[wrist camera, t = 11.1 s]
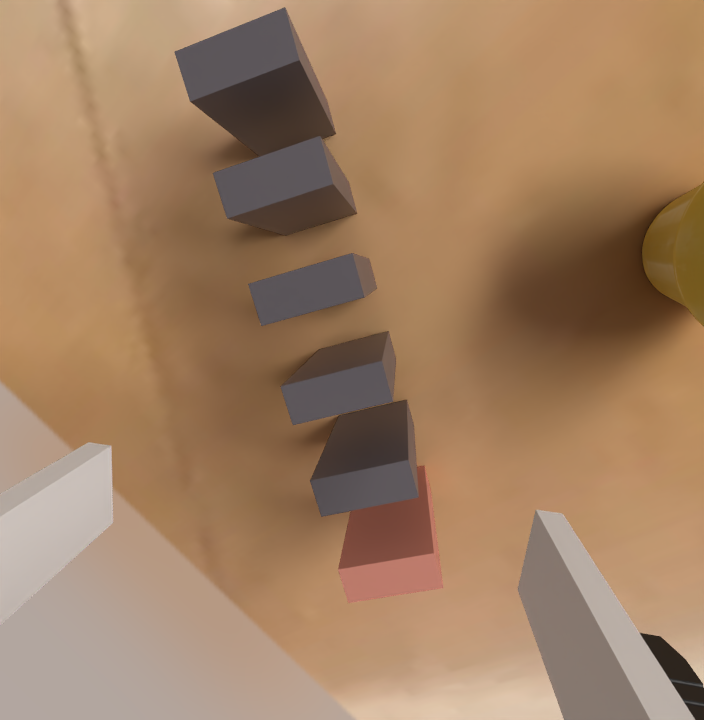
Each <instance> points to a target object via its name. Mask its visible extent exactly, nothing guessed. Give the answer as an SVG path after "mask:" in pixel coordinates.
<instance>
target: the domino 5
mask: <svg viewBox="0 0 704 720" xmlns="http://www.w3.org/2000/svg"><path fill="white" fill-rule="evenodd" d="M310 482H311V485H312V488H313V492H314V495H315V498H316V501H317V504H318V507H319V511H320V514H321V517H322V516H327V515H332V514H338V513H343V512H348V511H353V510H358V509H363V508H368V507H373V506H378V505H383V504H388V503H393V502H399V501H404V500H409V499H414V498H419V493H418V478H417V463H416V449H415V434H414V424H413V421H412V417H411V413H410V409H409V406H408V402H407V400H403V401H399V402H395V403H391V404H386V405H382V406H378V407H374V408H369V409H365V410H361V411H357V412H352V413H348V414H344V415H340V416H339V417H338V419H337V421H336V423H335V426H334V428H333V430H332V432H331V435H330V437H329V439H328V441H327V444H326V446H325V448H324V451H323V453H322V455H321V457H320V460H319V462H318V464H317V466H316V469H315V471H314V473H313V475H312V478H311V480H310Z"/></svg>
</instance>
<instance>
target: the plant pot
mask: <svg viewBox="0 0 704 720" xmlns="http://www.w3.org/2000/svg"><path fill="white" fill-rule="evenodd" d="M642 260H643V267H644V270H645V273H646V275H647V277H648V279H649V280H650V282H651V283H652V285H653V286H654V287H655V288H656V289H657V290H658V291H659V292H661V293H662V294H664V295H665V296H667V297H669V298H671V299H673V300H675V301H677V302H678V303H680V304H682V305H684V306H686V307H687V308H688V310H689V311H690V313H691V314H692V315H693V316H694V317H695V319H696V320H697V321H698V322H699V323H700V324H702V325H703V326H704V182H703V183H702V184H701V185H699V186H698V187H696V188H694V189H693V190H691V191H689V192H687V193H686V194H684V195H682V196H680V197H679V198H677V199H675V200H674V201H672V202H671V203H670V204H668V205H667V206H666V207H665V208H664V209H663V210H662V211H661V212H660V213H659V214H658V215H657V216H656V218H655V219H654V220H653V222H652V224H651V225H650V227H649V229H648V230H647V232H646V235H645V238H644V242H643V247H642Z"/></svg>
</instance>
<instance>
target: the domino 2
mask: <svg viewBox="0 0 704 720" xmlns="http://www.w3.org/2000/svg"><path fill="white" fill-rule="evenodd" d="M213 175H214V178H215V182H216V185H217V188H218V191H219V194H220V197H221V200H222V204H223V207H224V210H225V213H226V216H227V219H231V220H234V221H237V222H241V223H244V224H248V225H251V226H255V227H258V228H261V229H265V230H268V231H272V232H275V233H279V234H282V235H289V234H292V233H295V232H299V231H302V230H305V229H308V228H311V227H315V226H318V225H321V224H324V223H327V222H331V221H334V220H337V219H340V218H344V217H347V216H350V215H353V214H356V213H357V211H356V207H355V203H354V200H353V196H352V192H351V188H350V185H349V182H348V180H347V178H346V177H345V175H344V173H343V172H342V170H341V169H340V167H339V165H338V164H337V162H336V161H335V159H334V157H333V156H332V154H331V152H330V151H329V149H328V148H327V146H326V144H325V143H324V141H323V140H322V138H321V136H318V137H315V138H312V139H309V140H307V141H304V142H301V143H298V144H295V145H292V146H289V147H286V148H283V149H281V150H278V151H275V152H272V153H269V154H266V155H263V156H260V157H257V158H255V159H252V160H249V161H246V162H243V163H240V164H237V165H234V166H231V167H229V168H226V169H223V170H220V171H217V172H214V173H213Z"/></svg>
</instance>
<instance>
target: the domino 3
mask: <svg viewBox="0 0 704 720" xmlns="http://www.w3.org/2000/svg"><path fill="white" fill-rule="evenodd" d="M248 285H249V288H250V291H251V295H252V298H253V301H254V304H255V307H256V310H257V314H258V317H259V320H260V323H261V326H263V325H267V324H270V323H274V322H277V321H281V320H285V319H288V318H292V317H295V316H299V315H303V314H306V313H310V312H313V311H317V310H321V309H324V308H328V307H331V306H335V305H339V304H342V303H346V302H349V301H353V300H357V299H360V298H364V297H366V296H367V295H368V294H370V293H371V292H373V291H374V290H375V289H377V286H376V282H375V278H374V275H373V271H372V267H371V263H370V260H369V258H366V257H363V256H360V255H357V254H354V253H351V254H348V255H344V256H341V257H338V258H334V259H331V260H327V261H324V262H321V263H317V264H314V265H311V266H307V267H304V268H300V269H297V270H294V271H290V272H287V273H284V274H280V275H277V276H273V277H270V278H267V279H263V280H260V281H257V282H253V283H250V284H248Z"/></svg>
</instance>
